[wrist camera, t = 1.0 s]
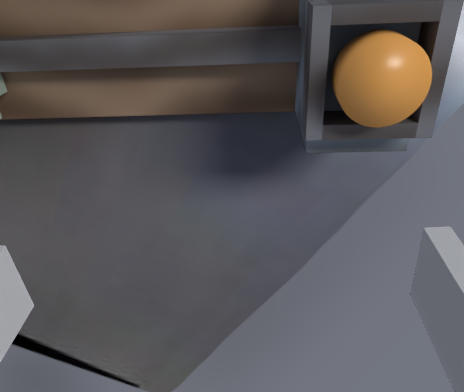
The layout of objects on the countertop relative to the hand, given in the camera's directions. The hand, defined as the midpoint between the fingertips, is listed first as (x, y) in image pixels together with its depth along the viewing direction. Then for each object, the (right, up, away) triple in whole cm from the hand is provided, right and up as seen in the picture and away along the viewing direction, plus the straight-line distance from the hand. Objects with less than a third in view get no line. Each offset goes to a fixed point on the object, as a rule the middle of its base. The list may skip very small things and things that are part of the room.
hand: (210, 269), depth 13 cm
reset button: (+9, +10, +11) cm, 17 cm away
